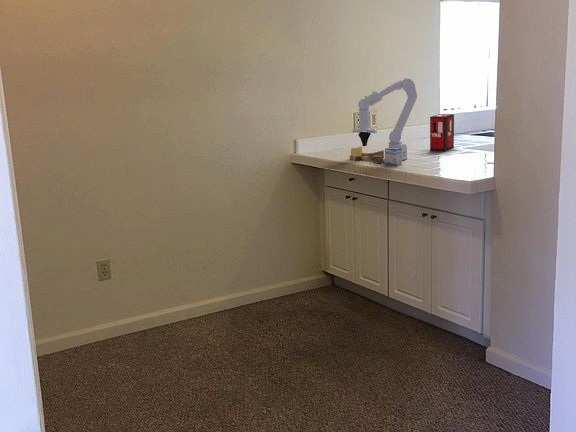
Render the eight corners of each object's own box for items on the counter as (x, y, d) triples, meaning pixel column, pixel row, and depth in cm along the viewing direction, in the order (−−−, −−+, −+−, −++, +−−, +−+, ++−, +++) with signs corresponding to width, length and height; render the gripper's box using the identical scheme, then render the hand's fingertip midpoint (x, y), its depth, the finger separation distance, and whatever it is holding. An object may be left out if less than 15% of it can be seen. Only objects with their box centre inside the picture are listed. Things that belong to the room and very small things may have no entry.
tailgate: (362, 157, 360) (362, 146, 359) (352, 160, 353) (352, 148, 351) (360, 157, 361) (360, 146, 359) (350, 160, 353) (350, 148, 352)
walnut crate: (382, 162, 341) (382, 155, 340) (380, 164, 338) (380, 156, 337) (375, 162, 343) (375, 155, 342) (373, 164, 339) (372, 156, 338)
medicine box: (384, 164, 335) (384, 148, 333) (389, 163, 338) (389, 147, 336) (397, 165, 329) (396, 149, 327) (402, 164, 332) (401, 148, 330)
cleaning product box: (439, 147, 388) (439, 114, 384) (453, 147, 384) (454, 114, 379) (430, 151, 375) (430, 116, 370) (444, 151, 370) (445, 116, 366)
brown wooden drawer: (384, 159, 353) (384, 150, 352) (371, 162, 343) (371, 153, 342) (362, 157, 362) (362, 149, 361) (348, 161, 352) (348, 152, 351)
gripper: (379, 120, 347) (379, 145, 350) (357, 120, 356) (357, 144, 359) (372, 121, 342) (372, 147, 345) (350, 121, 351) (350, 146, 354)
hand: (364, 145), depth 352 cm, fingers closed
